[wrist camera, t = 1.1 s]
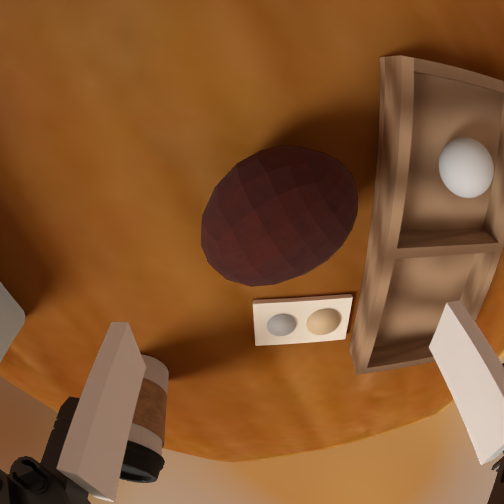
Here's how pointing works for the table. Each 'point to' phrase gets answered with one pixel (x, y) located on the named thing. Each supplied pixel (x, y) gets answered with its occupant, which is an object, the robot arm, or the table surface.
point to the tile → (301, 319)
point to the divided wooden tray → (427, 211)
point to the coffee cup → (147, 426)
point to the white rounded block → (9, 320)
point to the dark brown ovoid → (278, 215)
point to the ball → (466, 167)
